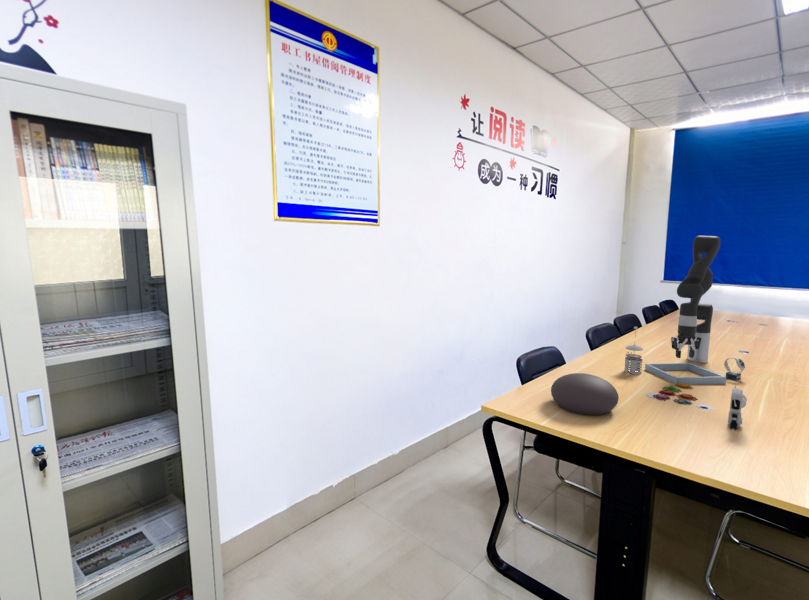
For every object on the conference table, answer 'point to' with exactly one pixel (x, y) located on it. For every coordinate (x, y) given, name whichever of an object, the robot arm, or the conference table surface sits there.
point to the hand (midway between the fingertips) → (684, 357)
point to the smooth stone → (584, 394)
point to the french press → (633, 359)
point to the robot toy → (736, 408)
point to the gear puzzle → (670, 392)
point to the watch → (732, 374)
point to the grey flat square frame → (708, 379)
